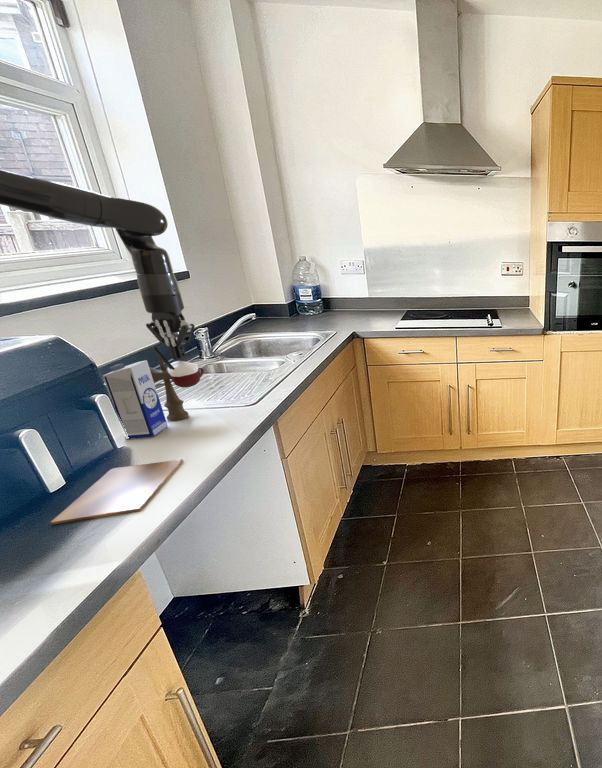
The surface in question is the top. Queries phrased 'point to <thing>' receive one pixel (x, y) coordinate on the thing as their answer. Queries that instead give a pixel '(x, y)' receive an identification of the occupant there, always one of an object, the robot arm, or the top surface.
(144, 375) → the milk carton
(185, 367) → the cocoa
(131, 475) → the copper plate
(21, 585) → the top surface
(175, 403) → the kendama
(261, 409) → the top surface
